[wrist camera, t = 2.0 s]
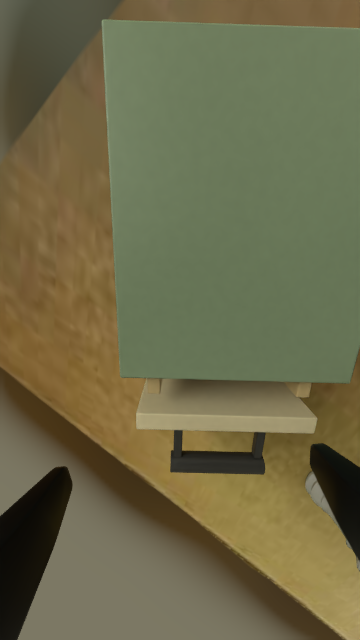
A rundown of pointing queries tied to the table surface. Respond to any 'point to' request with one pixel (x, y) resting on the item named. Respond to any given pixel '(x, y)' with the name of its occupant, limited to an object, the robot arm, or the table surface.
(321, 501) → the rook chess piece
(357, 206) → the cabinet
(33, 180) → the table surface
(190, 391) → the drawer
